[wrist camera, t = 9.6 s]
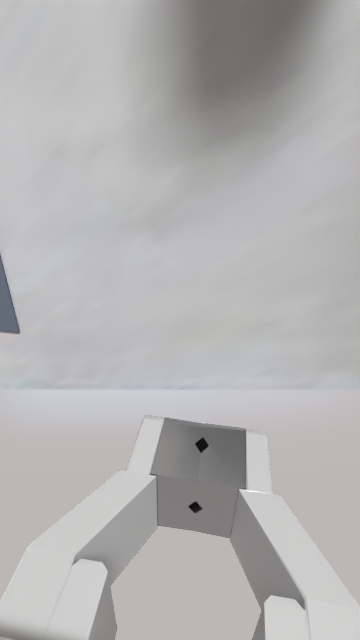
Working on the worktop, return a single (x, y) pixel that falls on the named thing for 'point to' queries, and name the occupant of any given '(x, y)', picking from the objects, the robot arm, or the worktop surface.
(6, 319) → the slate square
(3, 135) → the worktop surface
